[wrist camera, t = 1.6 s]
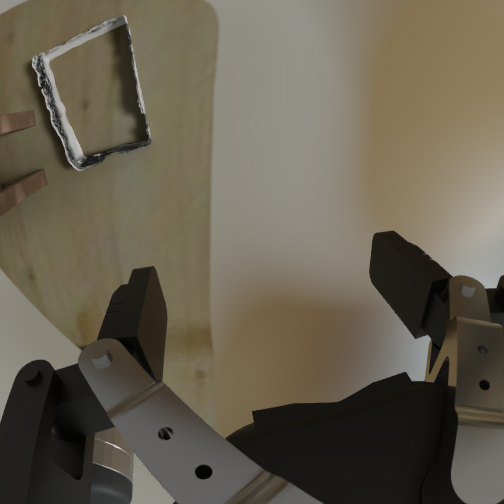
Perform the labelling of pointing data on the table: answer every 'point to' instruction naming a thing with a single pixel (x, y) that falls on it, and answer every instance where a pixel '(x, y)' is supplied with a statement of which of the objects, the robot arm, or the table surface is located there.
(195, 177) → the table surface
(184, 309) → the table surface
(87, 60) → the table surface
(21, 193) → the walnut stand
